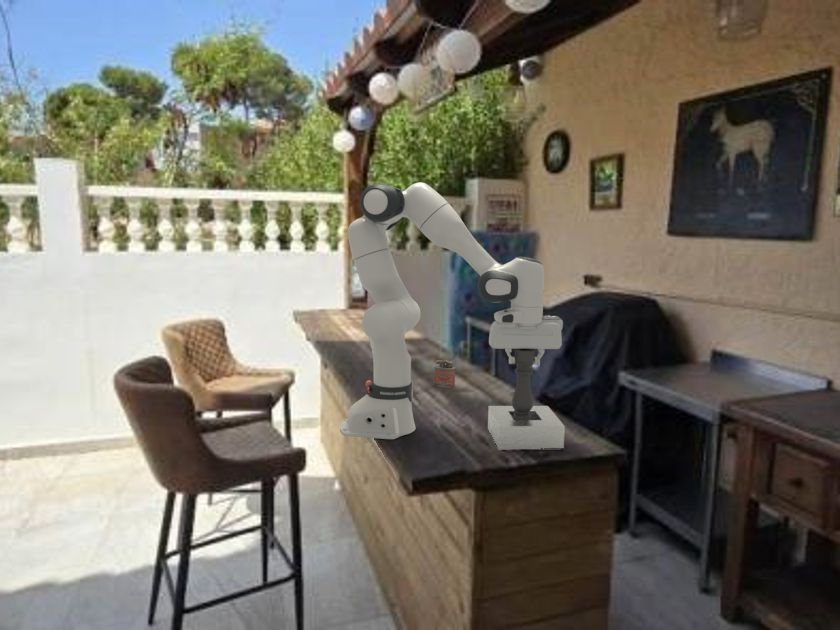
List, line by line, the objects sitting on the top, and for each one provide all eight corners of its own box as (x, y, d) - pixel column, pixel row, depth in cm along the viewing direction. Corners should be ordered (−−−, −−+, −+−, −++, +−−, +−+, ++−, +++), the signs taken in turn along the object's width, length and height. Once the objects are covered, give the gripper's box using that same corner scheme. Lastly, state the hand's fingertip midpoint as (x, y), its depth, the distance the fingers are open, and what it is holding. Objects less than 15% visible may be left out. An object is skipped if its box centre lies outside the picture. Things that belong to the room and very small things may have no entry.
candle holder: (505, 434, 172) (509, 349, 168) (518, 429, 177) (522, 346, 173) (523, 439, 168) (527, 352, 164) (536, 434, 172) (540, 349, 168)
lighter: (455, 386, 226) (456, 360, 225) (454, 388, 223) (454, 362, 222) (435, 384, 229) (435, 358, 227) (433, 386, 225) (433, 360, 224)
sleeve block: (498, 450, 163) (499, 426, 162) (487, 428, 181) (488, 405, 180) (563, 450, 164) (564, 426, 163) (546, 428, 182) (547, 405, 181)
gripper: (560, 314, 171) (557, 361, 173) (488, 313, 170) (486, 360, 172) (566, 317, 164) (563, 366, 167) (492, 316, 163) (490, 366, 165)
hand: (524, 363), depth 169 cm, fingers closed on candle holder, 6 cm apart
